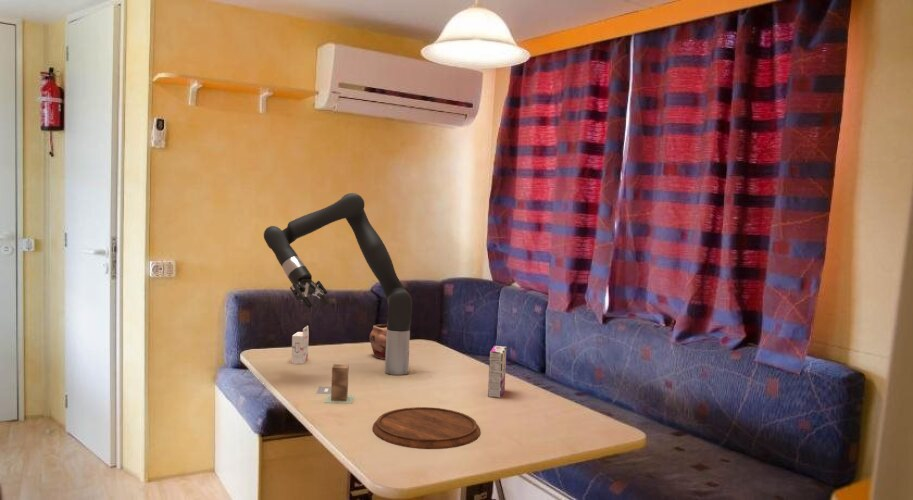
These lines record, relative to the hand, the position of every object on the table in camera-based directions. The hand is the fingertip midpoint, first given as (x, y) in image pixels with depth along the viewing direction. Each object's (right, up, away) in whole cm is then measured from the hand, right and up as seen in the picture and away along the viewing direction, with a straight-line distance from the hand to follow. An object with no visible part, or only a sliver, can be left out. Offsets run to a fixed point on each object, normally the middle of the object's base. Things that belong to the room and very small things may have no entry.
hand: (319, 306), depth 234 cm
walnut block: (+10, -30, -16) cm, 35 cm away
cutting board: (+41, -34, -41) cm, 67 cm away
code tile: (+5, -29, -6) cm, 30 cm away
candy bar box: (+64, -32, +1) cm, 71 cm away
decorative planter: (+17, -27, +52) cm, 61 cm away
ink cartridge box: (-16, -26, +35) cm, 47 cm away
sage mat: (+10, -30, -16) cm, 36 cm away
